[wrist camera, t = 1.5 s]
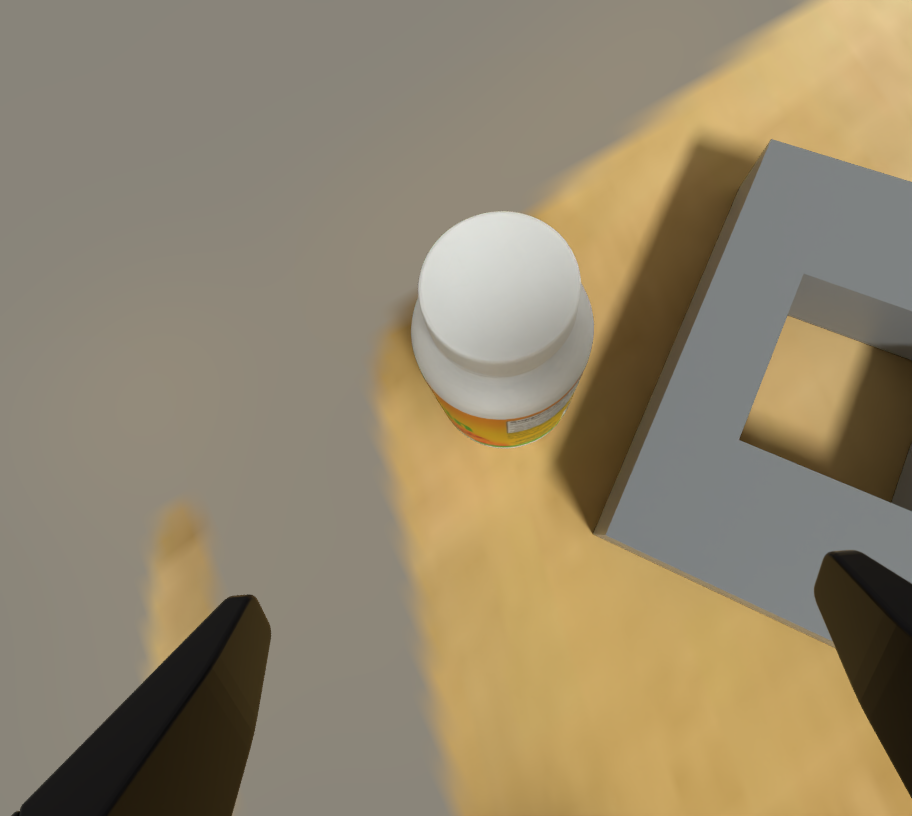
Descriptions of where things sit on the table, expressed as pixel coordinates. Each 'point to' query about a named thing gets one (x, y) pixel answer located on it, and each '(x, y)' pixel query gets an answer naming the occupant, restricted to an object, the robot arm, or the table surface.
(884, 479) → the table surface
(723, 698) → the table surface
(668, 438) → the holder
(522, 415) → the supplement bottle
